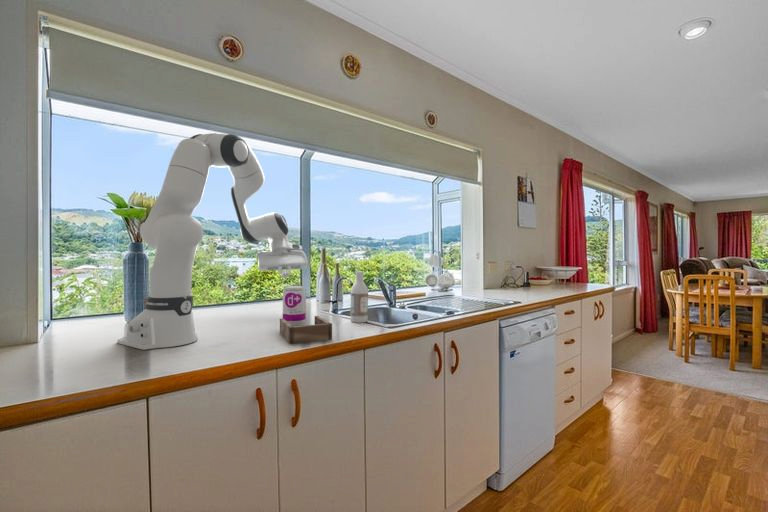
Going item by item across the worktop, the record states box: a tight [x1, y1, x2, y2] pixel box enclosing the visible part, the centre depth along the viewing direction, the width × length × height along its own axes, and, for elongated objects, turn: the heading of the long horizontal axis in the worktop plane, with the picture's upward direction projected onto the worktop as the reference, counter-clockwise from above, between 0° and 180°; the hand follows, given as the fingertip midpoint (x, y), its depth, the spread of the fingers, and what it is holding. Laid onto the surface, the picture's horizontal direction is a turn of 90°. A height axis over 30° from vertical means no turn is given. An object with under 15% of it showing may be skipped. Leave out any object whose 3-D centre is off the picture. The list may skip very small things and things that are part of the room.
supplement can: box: [282, 285, 307, 327], centre depth 134 cm, size 8×8×15 cm
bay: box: [279, 315, 333, 345], centre depth 121 cm, size 15×13×5 cm
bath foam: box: [349, 270, 369, 324], centre depth 147 cm, size 7×7×20 cm
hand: (285, 276), depth 150 cm, fingers closed
